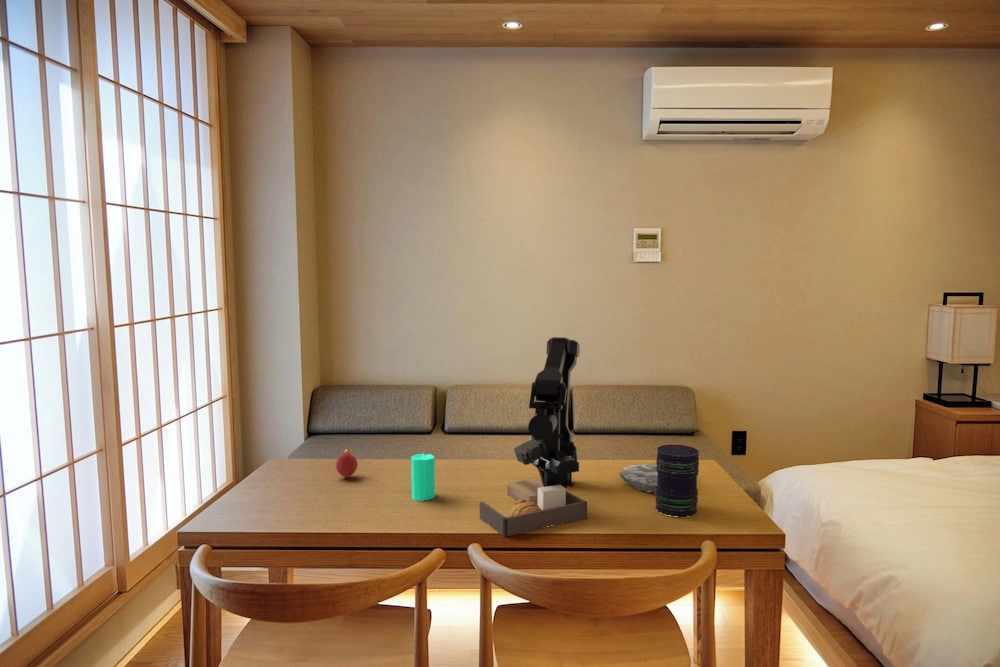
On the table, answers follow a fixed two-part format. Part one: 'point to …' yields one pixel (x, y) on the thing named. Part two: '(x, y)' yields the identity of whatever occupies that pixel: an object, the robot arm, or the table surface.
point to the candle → (423, 477)
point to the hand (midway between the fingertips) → (547, 491)
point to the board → (525, 490)
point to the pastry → (523, 507)
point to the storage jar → (677, 480)
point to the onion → (346, 464)
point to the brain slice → (641, 476)
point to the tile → (551, 496)
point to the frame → (535, 517)
